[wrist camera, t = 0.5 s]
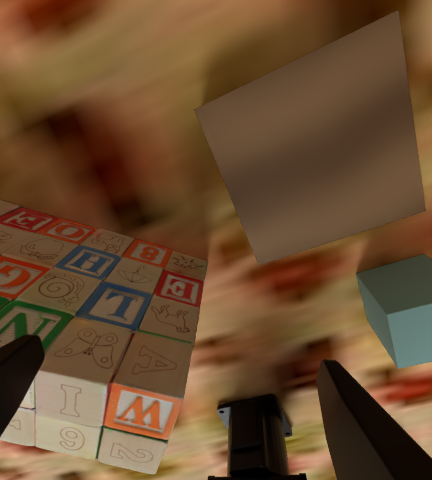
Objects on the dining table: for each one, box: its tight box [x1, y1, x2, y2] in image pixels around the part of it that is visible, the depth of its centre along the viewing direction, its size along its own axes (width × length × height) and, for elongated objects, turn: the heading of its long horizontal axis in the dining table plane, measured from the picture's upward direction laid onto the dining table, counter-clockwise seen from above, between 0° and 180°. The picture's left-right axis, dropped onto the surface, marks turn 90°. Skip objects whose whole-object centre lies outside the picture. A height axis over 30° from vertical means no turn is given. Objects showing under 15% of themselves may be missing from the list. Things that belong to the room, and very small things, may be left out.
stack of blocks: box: [0, 200, 207, 474], centre depth 17 cm, size 21×6×12 cm, turn 74°
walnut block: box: [194, 10, 426, 265], centre depth 17 cm, size 10×10×4 cm
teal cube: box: [356, 254, 432, 369], centre depth 20 cm, size 5×5×5 cm
